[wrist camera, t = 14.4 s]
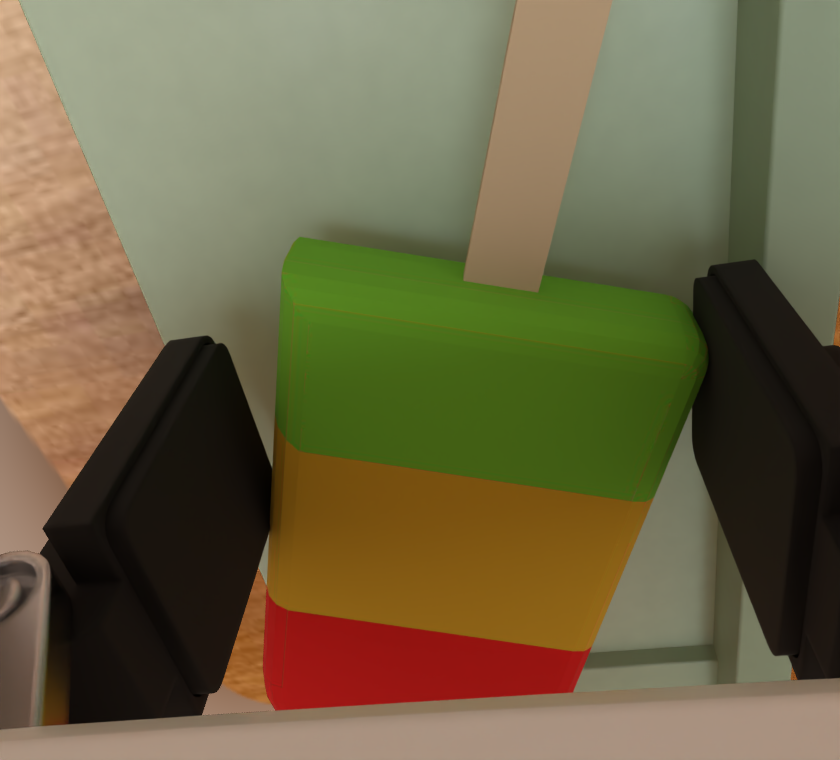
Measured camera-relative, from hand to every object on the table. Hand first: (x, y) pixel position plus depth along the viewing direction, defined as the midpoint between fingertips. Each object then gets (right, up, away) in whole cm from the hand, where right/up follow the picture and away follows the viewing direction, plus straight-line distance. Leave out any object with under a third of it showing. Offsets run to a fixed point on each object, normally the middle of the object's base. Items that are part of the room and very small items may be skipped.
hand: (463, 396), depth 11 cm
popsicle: (0, +1, +1) cm, 1 cm away
